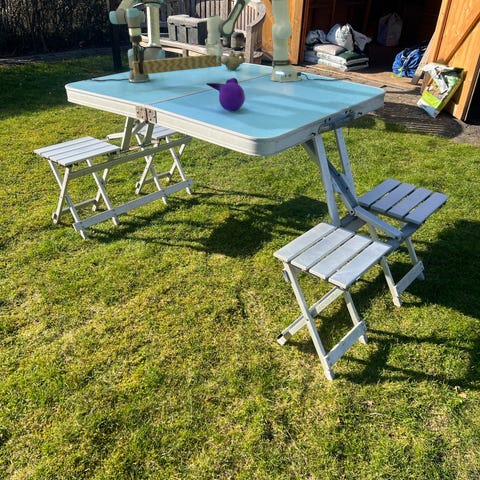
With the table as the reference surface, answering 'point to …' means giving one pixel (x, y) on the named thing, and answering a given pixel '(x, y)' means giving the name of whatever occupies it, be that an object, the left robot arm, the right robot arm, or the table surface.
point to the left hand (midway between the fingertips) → (140, 73)
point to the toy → (230, 94)
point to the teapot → (233, 61)
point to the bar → (177, 64)
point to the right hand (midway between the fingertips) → (215, 61)
